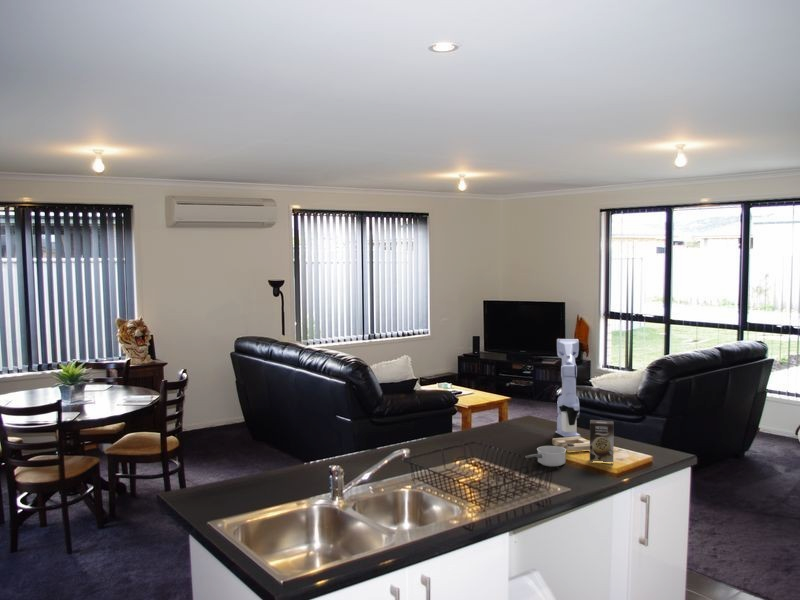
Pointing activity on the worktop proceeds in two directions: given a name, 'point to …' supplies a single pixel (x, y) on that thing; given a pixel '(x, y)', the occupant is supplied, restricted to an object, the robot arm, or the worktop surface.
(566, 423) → the plug
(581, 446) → the socket
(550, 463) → the saucepan
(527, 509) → the worktop surface
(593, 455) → the coffee box
